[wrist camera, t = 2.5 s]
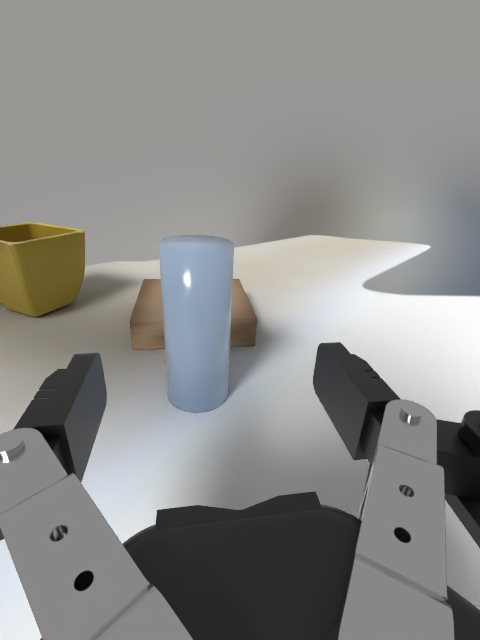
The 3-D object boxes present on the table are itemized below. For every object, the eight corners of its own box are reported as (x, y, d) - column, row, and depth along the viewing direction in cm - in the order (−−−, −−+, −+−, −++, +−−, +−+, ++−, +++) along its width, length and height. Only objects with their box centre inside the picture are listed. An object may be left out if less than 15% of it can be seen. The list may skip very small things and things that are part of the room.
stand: (132, 349, 32) (129, 321, 31) (145, 301, 43) (143, 279, 41) (254, 345, 34) (256, 318, 32) (237, 300, 44) (238, 279, 43)
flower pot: (47, 289, 45) (32, 220, 41) (97, 301, 42) (86, 229, 38) (-21, 312, 38) (-47, 232, 34) (33, 329, 35) (12, 243, 31)
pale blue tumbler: (166, 414, 24) (156, 251, 19) (169, 376, 28) (161, 234, 23) (231, 410, 25) (238, 252, 20) (224, 373, 29) (229, 235, 24)
